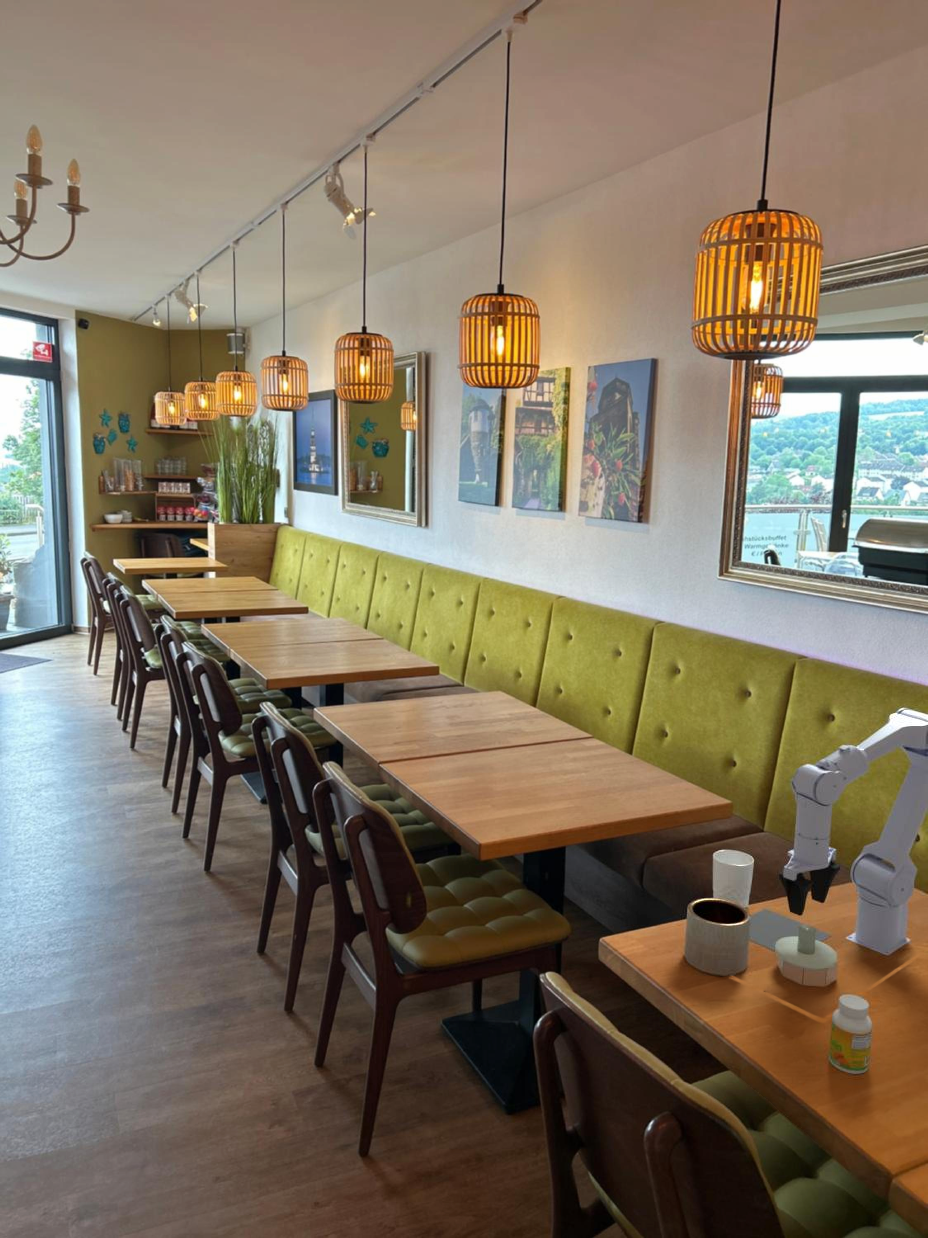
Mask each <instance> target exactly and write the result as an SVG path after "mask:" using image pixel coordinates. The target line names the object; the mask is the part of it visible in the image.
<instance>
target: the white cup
mask: <svg viewBox="0 0 928 1238" xmlns="http://www.w3.org/2000/svg"><path fill="white" fill-rule="evenodd" d="M754 862H755V859H754V858H753V856H751V854H748V853H745V852H743V851H740V850H734V849H733V850H732V849H721V850H718V851H715V852H713V854H712V890H713V897H712V898H717V899H724V900H728V901H731V902H734V903H737V904H739V905H741V906H743V907H744V908H745V909H747V907H748V906H749V902H750V901H749V900H750V894H751V888H752V881H753V873H754Z"/></svg>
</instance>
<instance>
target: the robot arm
mask: <svg viewBox="0 0 928 1238" xmlns="http://www.w3.org/2000/svg"><path fill="white" fill-rule="evenodd" d="M899 748H900V749H901V750H902V751H903V752H904V754H906V755H907V758H908V760H909V762H910V766H909V768H908V770H907V773H906V775H905V777H904V781H903V782H902V785H901V787H900V790H899V791H898V794H897V797H896V799H895V800H894V804H893V806H892V808H891V811H890V813H889V816H888V818H887V821H886V823H885V824H884V827H883V830H882V832H881V834H880V837H879V839H878V841H876V842H872V843H870V844H867V845H865V846H863V848H862V851H861V852H860V855H858V856H857V858H856V859H855V860H853V863H852V865H851V866H850V867H851V868H850V880H851V881H852V883H853V884H854V885H855V886H856V887H855V892H857V893H858V898H857V914H856V924H855V931H854V932H853V933H852V934H850V935H847V936H846V937H845V939H846V940H848V941H850V942H853V943H855V944H858V945H860V946H863V947H865V948H867V949H871V950H873V951H875V952H878V953H880V954H882V955H885V956H890V955H891V954H893V953H894V952H896V951H897V950H898V949H900V948H902V947H903V946H904V945H906V944H908V943H910V942H911V939H910V938H908V937H906V935H907V925H908V916H909V906H908V903H907V902H908V900H909V899H910V898H911V897H912V895H913V893H914V890H915V889H914V888H915V878H916V875H917V873H918V869H917V867H916V865H915V863H914V862H913V860H912V858H911V857H910V853H911V850H912V848H913V846H914V843H915V841H916V839H917V838H916V837H917V836H918V834H919V831H920V828H921V826H922V824H923V822H924V819H925V817H926V814H927V812H928V713H923V712H920V711H917V710H913V709H912V708H909V707H902V708H899V709H898V710H897V711H895V713H892V714H889V716H888V718H887V723H886V724H885V725H884V726H883V727H881V728H880V729H879V730H877V731H875V732H874V733H873V734H871V735H870V736H869V737H867V738H866V739H865V740H864V741H862V742H860V743H859V744H858V745H856V746H854V745H851V744H846V745H844V744H842V745H841V746H839V747H838V750H836V751H834V752H833V753H831V754H829V755H828V756H826V757H825V758H822V759H820V760H818V762H816V763H814V764H810V763H809V764H808V763H807V764H804V765H802V766H800V767H798V768H797V769H796V770H795V772H794V774H793V777H792V779H790V787H791V790H792V791H793V792H794V802H795V803H796V816H795V828H794V829H795V831H794V842H793V843H794V845H793V846H794V847H793V849H791V850H789V851H788V852H787V856H788V857H790V859H789V860H788V863H787V864H786V865H784V866H783V869H782V870H781V871H779V872H778V879H779V881H780V882H781V884H782V886H783V888H784V890H785V894H786V899H787V903H788V909H789V913H792V914H794V915H797V916H799V917H801V916H803V914H804V911H805V908H806V903H807V898H808V895H809V892H810V896H811V900H813V901H815V902H818V903H820V904H824V903H825V901H826V899H827V897H828V893H829V891H830V888H831V885H832V883H833V880H834V879H835V877H836V876H837V874H838V872H840V870H841V864H840V863H836V862H834V861H835V860H836V859H837V849H836V848H834V847H831V846H830V844H831V843H830V842H831V841H830V840H831V830H832V829H831V827H832V816H833V815H832V813H833V804H834V803H836V802H837V801H838V800H839V798H840V796H841V795H842V792H843V791H844V790H846V787H847V786H848V785H850V784H851V783H853V782H854V781H856V780H857V779H859V778H862V776H863V775H866V774H867V773H868V771H869V768H870V763H872V762H874V761H876V760H877V759H880V758H882V757H883V756H886V755H887V754H889V753H892V752H893V751H895V750H897V749H899ZM885 861H887V862H888V863H886V862H885ZM889 863H891V864H892V865H890V864H889ZM806 872H809V878H810V879H807V878H806V877H805V875H804V873H806Z"/></svg>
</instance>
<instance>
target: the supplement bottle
mask: <svg viewBox="0 0 928 1238" xmlns="http://www.w3.org/2000/svg"><path fill="white" fill-rule="evenodd" d="M869 1007H870V1004H869V1002H868V1001H867V1000H866V999H864V998H863V997H861V996H859V995H855V994H850V993H849V994H842V995H841V996H839V998H838V1008H837V1009H835V1010H834V1011H833V1013H832V1016H831V1017H832V1018H831V1029H830V1038H829V1039H830V1042H829V1051H828V1058H829V1062H830V1063H831V1065H833V1066H834V1067H835V1068H837V1070H839V1071H842V1072H844V1073H847V1074H851V1075H852V1074H853V1075H859V1074H860V1075H861V1074H864V1073H866V1072H867V1071H868V1070H869V1068H870V1067H869V1066H870V1060H871V1059H870V1058H871V1057H870V1056H871V1046H872V1035H873V1021H872V1020H871V1017H870V1016H869V1012H870V1011H869V1010H870V1009H869Z"/></svg>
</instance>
